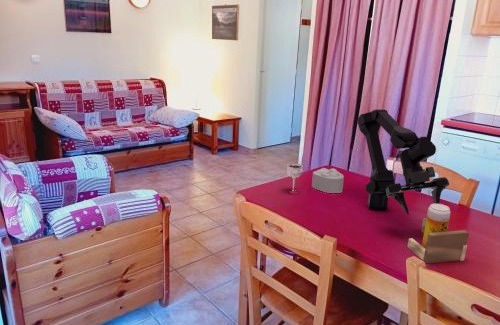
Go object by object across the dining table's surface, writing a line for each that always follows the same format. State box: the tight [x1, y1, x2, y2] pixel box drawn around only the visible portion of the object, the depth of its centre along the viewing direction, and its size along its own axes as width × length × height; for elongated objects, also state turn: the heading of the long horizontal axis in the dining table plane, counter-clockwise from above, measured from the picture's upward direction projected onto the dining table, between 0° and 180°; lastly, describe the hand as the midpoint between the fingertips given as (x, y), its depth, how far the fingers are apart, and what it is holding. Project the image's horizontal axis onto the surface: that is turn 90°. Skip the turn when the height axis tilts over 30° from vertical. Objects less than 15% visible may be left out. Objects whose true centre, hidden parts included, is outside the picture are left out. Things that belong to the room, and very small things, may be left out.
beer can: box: [421, 203, 452, 248], centre depth 117 cm, size 6×6×15 cm
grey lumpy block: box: [311, 167, 345, 194], centre depth 167 cm, size 10×13×9 cm
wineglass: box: [286, 162, 304, 191], centre depth 162 cm, size 7×7×12 cm
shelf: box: [407, 217, 470, 264], centre depth 121 cm, size 19×12×9 cm, turn 12°
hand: (422, 212), depth 123 cm, fingers open, 9 cm apart
